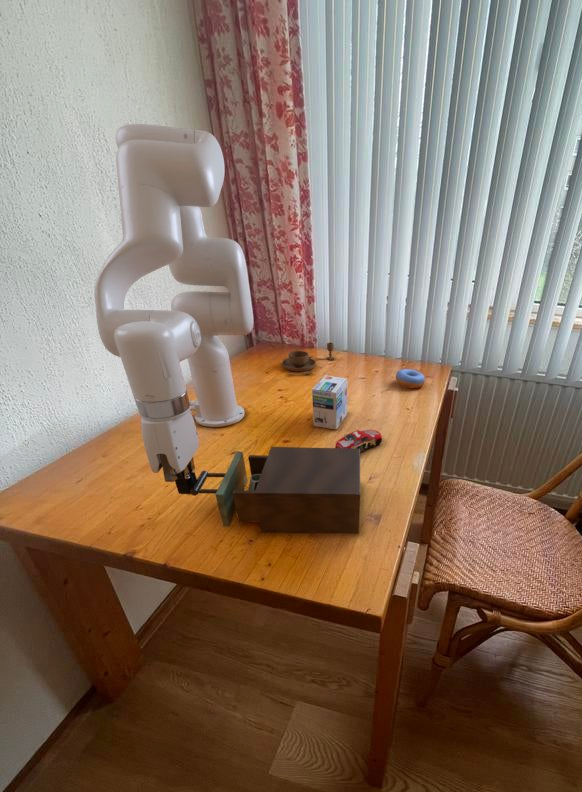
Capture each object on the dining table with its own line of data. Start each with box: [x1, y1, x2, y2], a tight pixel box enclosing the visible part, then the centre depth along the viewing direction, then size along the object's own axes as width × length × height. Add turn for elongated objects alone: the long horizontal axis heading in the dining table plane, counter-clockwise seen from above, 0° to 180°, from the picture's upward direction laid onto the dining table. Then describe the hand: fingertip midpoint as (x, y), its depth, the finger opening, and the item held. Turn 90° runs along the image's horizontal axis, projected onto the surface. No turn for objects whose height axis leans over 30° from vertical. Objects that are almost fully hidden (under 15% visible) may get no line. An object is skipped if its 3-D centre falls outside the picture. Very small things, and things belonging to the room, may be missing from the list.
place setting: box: [281, 342, 335, 376], centre depth 138 cm, size 18×20×6 cm
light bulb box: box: [311, 375, 348, 430], centre depth 104 cm, size 11×7×11 cm, turn 168°
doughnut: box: [395, 368, 426, 389], centre depth 130 cm, size 10×10×5 cm
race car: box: [334, 429, 383, 453], centre depth 95 cm, size 13×5×4 cm, turn 133°
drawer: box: [189, 451, 268, 527], centre depth 73 cm, size 23×14×7 cm, turn 93°
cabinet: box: [254, 446, 361, 534], centre depth 74 cm, size 18×15×9 cm
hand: (189, 491), depth 73 cm, fingers closed
